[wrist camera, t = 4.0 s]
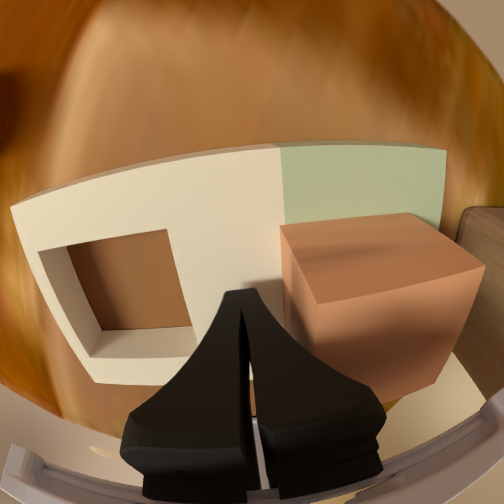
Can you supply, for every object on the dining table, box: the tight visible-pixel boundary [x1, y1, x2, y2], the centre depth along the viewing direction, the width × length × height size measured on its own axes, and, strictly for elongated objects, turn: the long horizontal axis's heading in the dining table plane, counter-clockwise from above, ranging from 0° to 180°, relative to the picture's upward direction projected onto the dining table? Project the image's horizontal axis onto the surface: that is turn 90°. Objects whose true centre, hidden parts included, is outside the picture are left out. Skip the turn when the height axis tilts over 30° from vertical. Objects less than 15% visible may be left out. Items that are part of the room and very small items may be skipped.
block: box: [279, 212, 486, 404], centre depth 10 cm, size 6×6×5 cm
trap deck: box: [10, 140, 446, 385], centre depth 13 cm, size 12×20×2 cm, turn 96°
